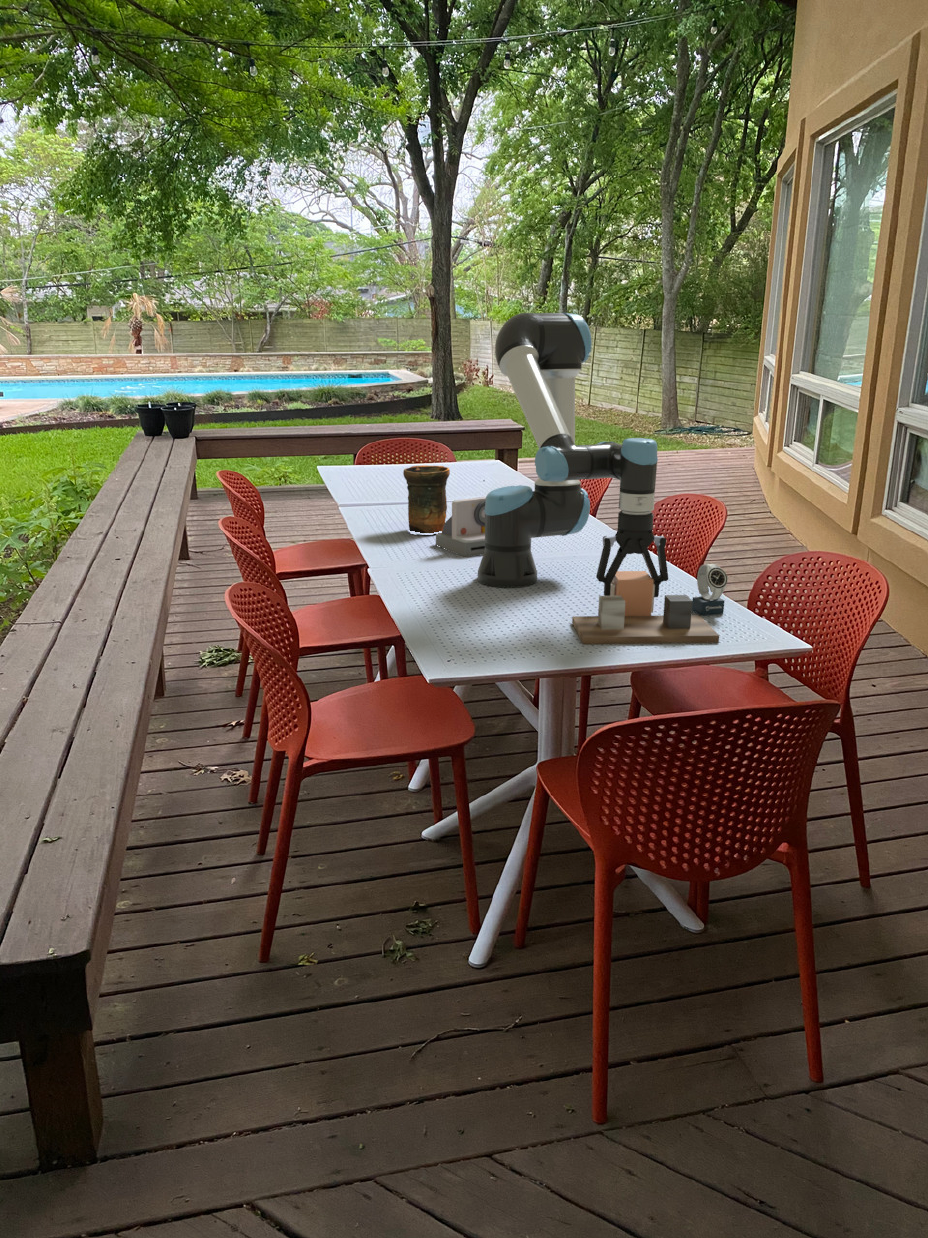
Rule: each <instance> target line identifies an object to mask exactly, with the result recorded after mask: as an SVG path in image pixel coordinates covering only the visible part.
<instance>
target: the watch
mask: <svg viewBox="0 0 928 1238" xmlns="http://www.w3.org/2000/svg"><path fill="white" fill-rule="evenodd" d="M728 580H729V577H728V575H727V573H726V571H725V570H724V569H723V568H722V567H720V566H719V565H717V564H715V563H706V564H702V565H701V566H699V568H698V572H697V577H696V582H697V583H696V585H697V589H698V592H699V594H700V595H701V596H693V597H692V612H694V613H696V614H697V615H700V616H701V617H703V616H704V617H705V616H712V615H723V614H724V610H725V600H724V599H722V598H721V597H722V595H723V592H724V591H725V589H726V586H727V585H728V584H727V583H728ZM710 593H711V594H710Z"/></svg>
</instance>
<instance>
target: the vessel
mask: <svg viewBox="0 0 928 1238" xmlns="http://www.w3.org/2000/svg"><path fill="white" fill-rule="evenodd" d="M450 472H451V471H450V468H449V467H447V466H443V465H427V464H426V465H424V464H423V465H414V466H413V465H412V466H410V467H407V468H404V469H403V472H402V474H403V477H404V479H405V480H406V485H407V487H406V489H407V492H408V495H407V502H408V505H407V506H408V508H407V514H408V519H407V520H408V530H410V531H415V532H420V533H434V532H439V531H443V527H444V524H445V523H446V518H447V509H448V503H447V502H448V501H447V492H446V490H447V489H446V486H447V484H448V483H447V481H448V479H449V476H450Z"/></svg>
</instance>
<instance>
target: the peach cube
mask: <svg viewBox="0 0 928 1238" xmlns="http://www.w3.org/2000/svg"><path fill="white" fill-rule="evenodd" d="M612 582H613V584H614V585H615V587H614V596H621V597H622V598H623V599H624V601H625V616H652V613H651V608H652V593H653V579H652V577H651V575H650V573H648V572H647V571H646V570H618V571H617V573H616V575H615V577H614V579H613V580H612Z"/></svg>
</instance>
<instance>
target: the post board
mask: <svg viewBox="0 0 928 1238" xmlns="http://www.w3.org/2000/svg"><path fill="white" fill-rule="evenodd" d="M692 601H693V599H691V598H690V597H689V596H688V595H687V594H664V603H663V604H664V605H663V615H651V616H625V601H624V599H623V598H622V597H621V596H604V595H599V596H598V612H597V614H598V615H595V616H594V615H591V616H588V615H587V616H585V615H582V616H581V615H580V616H571V617H572V618H571V623H573V624H572V625H574V626H573V627H574V629H575V631H576V634H577V635H578V637H579V639H580V642H581V643H582V645H614V644H615V645H618V644H619V645H620V644H622V645H623V644H624V645H625V644H626V645H627V644H628V645H630V644H684V643H685V644H696V643H697V644H698V643H699V644H700V643H701V644H704V643H708V644H709V643H710V644H712V643H713V644H715V643H720V634H719V633H718V632H717V631H715V629H714V628H713V627H712V626H711V625H710V624H709V623H708V621H706V620H705V619H704V618H703V616H701V615H699V614H692V612H693V611H692Z"/></svg>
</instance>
